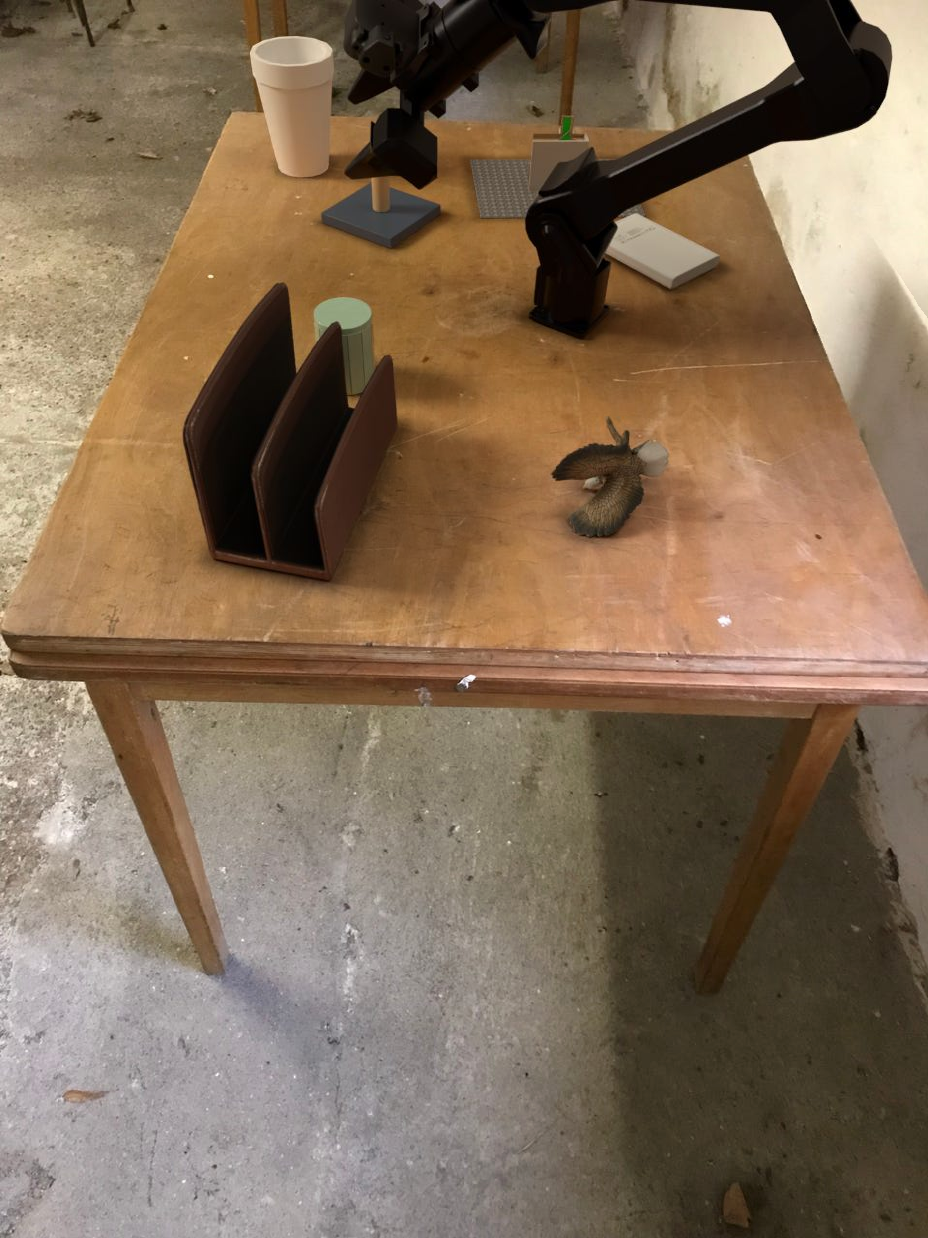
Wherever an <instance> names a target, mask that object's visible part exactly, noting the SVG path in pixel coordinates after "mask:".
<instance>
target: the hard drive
mask: <svg viewBox="0 0 928 1238" xmlns="http://www.w3.org/2000/svg"><path fill="white" fill-rule="evenodd" d="M614 222H615V223H616V225H617V226H618V229H617V231H616V233H615V235H614V237H613V239H612V241H611V243H610V245H609V247H608V249H607V251H606V253H605V254H606V255H608V256H609V257H611V258H612V259H614V260H616V261H618V262H620V263H622V264H624V265H626V266H627V267H629V268H631V269H633V270H635V271H637V272H639V273H641V274H642V275H644V276H646V277H647V278H649V279H651V280H653V281H655V282H656V283H658V284H659V285H662V286H664V287H665V288H667V289H669V290H675V289H677V288H679V287H681V286H683V285H685V284H687V283H689V282H691V281H693V280H695V279H696V278H698V277H700V276H702V275H704V274H706V273H708V272H711V271H712V270H714V269H716V268H717V267H718V265H719V262H720V260H721V259H720V258H721V255H720V254H718V253H717V252H714V251H712V250H710V249H708V248H706V247H704V246H702V245H700V244H698V243H697V242H694V241H692V240H691V239H689V238H686V237H685V236H683V235H681V234H679V233H677V232H675V231H672V230H670V229H668V228H666V227H665V226H662V225H661V224H659V223H657V222H655V221H653V220H650V219H649V218H647V217H646V216H644V217H643V216H641V215H639V214H637V213H635V214H632V215H630V216H628V217H624V218H623V217H622V219H619V220H616V221H614Z"/></svg>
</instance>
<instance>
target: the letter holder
mask: <svg viewBox="0 0 928 1238" xmlns="http://www.w3.org/2000/svg"><path fill="white" fill-rule="evenodd" d="M289 293H290V292H289V287H288V286H287V284H286V283H285V282H284V281H283V282H282V281H281V282H276V283H275V284H274V285H273V286H272V287H271V288H270V289H269V290H268V292H266V293H265V295H263V297H261V299H260V300H259V302H258V303H257V304H255V306H254V308H253V309H252V310H251V311H250V313H249V314H248V316H247V317H246V318H245V319H244V320H243V322H242V324H241V325H240V326H239V328H238V329H237V331H236V332H235V334H234V335H233V337H232V338H231V339H230V341H229V343H228V345H227V346H226V347H225V349H224V351H223V353H222V354H221V355H220V357H219V358H218V360H217V362H216V364H215V365H214V367H213V369H212V370H211V372H210V374H209V375H208V377H207V378H206V380H205V382H204V383H203V385H202V387H201V389H200V391H199V393H198V394H197V396H196V398H195V400H194V402H193V404H192V405H191V408H190V409H189V411H188V413H187V414H186V417H185V420H184V422H183V426H182V427H183V428H182V443H183V448H184V452H185V458H186V461H187V466H188V471H189V475H190V479H191V483H192V487H193V491H194V495H195V499H196V502H197V507H198V511H199V515H200V520H201V524H202V527H203V531H204V534H205V539H206V542H207V548H208V549H207V550H208V553H209V555H210V557H211V558H212V559H213V560H214V561H223V562H229V563H235V564H240V565H245V566H249V567H256V568H261V569H267V570H272V571H275V572H276V571H277V572H281V573H288V574H293V575H298V576H304V577H308V578H313V579H319V580H322V581H331V579H332V578H333V575H334V572H335V571H336V568H337V567H338V563H339V561H340V559H341V557H342V554H343V553H344V550H345V547H346V545H347V543H348V541H349V538H350V536H351V534H352V531H353V529H354V526H355V525H356V522H357V521H358V517H359V515H360V513H361V512H362V511H361V510H362V508H363V506H364V504H365V501H366V500H367V497H368V495H369V492H370V491H371V488H372V486H373V483H374V482H375V481H374V480H375V479H376V476H377V473H378V471H379V469H380V468H381V464H382V462H383V460H384V458H385V455H386V453H387V451H388V448H389V445H390V443H391V441H392V438H393V436H394V434H395V431H396V429H397V428H398V426H399V425H398V420H399V419H398V409H397V394H396V383H395V367H394V360H393V357H392V355H390V354H384V355H383V357H382V358H381V360H380V361H379V363H378V364H377V366H376V369H375V371H374V372H373V374H372V376H371V378H370V379H369V382H368V383H367V385H366V387H365V388H364V390H363V392H362V393H360V397H358V400H357V402H356V404H355V406H354V407H351V406H349V399H348V395H347V390H346V378H345V366H344V354H343V343H342V328H341V325H340V323H339V322H338V321H336V322H334V323H332V324H331V325H330V326H329V327H328V328H327V329H326V331H325V332H324V333H323V335H322V336H321V337H320V339H319V340H318V341H317V342H316V341H315V344H314V346H313V347H311V350H310V352H309V353H308V355H307V356H306V358H305V360H304V361H303V363H302V364H301V365H300V367H299V369H298V370H297V365H296V353H295V342H294V333H293V331H294V330H293V322H292V311H291V310H292V309H291V301H290V294H289Z"/></svg>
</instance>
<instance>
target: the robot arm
mask: <svg viewBox="0 0 928 1238" xmlns="http://www.w3.org/2000/svg"><path fill="white" fill-rule="evenodd" d="M617 1H618V2H619V0H449V1H448V2H447V3H445V5H444V6H442V7H441V6H440V5H438V4H437V2H436V1H431V3H429V2H426V3H425V4H423V3H422V2H421V0H351V3H350V4H349V7H348V10H347V13H346V15H345V17H344V21H343V25H344V34H343V35H344V37H343V44H342V45H343V50H344V52H345V53H346V55H347V56H348V57H349V58H350V59H353V60H355V61H358V65H359V67H360V68H361V69H360V71H359V73H358V75H357V77H356V78H355V80H354V82H353V84H352V86H351V88H350V89H349V92H348V93H347V98H346V99H347V101H349V102H350V103H351V104H352V105H354V106H356V105H359V104H362V103H364V102H368V101H369V100H371V99H373V98H375V97H377V96H379V95H381V94H383V93H385V92H387V91H389V90H391V89H393V88H395V89H398V90H399V107H387V108H386V109H385V110H383V111H382V112H381V113H380V114H379V115H378V117H377V119H376V121H375V122H374V121H373V120H370V126H369V127H370V130H369V142H368V143H367V144H366V145H365V146H364V147H363V148H362V149H361V150H360V152H358V153H357V155H355V157H354V158H353V159H352V160H351V161H350V162H349V163H348V164H347V166H346V167H345V169H344V171H343V174H344V176H346V177H347V178H348V179H349V180H351V181H352V180H353V181H355V180H365V179H366V180H367V179H371V178H376V177H388V176H389V177H399V178H400V177H401V178H402V179H403V180H404V181H406V182H407V183H409V184H410V185H411V186H413V187H414V188H416V190H418V191H420V190H423V189H425V188H426V187H428V186H429V185H431V184H432V183H433V182H434V181H435V180H437V179H438V156H439V155H438V153H439V152H438V149H439V148H438V143H439V142H438V140H439V139H438V136H436V135H435V133H433V132H432V131H430V130H429V129H428V128H427V127H425V120H426V119H425V113H427V112H429V113H430V114H432V115H433V116H434V117H435V118H437V119H438V120H439V119H441V117H443V116H444V115H445V114H447V99H449V98H450V97H451V96H452V95H454V94H455V93H456V92H457V91H459V90H460V89H461V88H463V87H464V88H465V89H466V90H467V91H468V92H469V93H473V92H474V91H475V90H476V89H478V88H479V86H480V72H482V71H483V70H484V69H485V68H487V67H488V66H489V65H490V64H491V63H493V62H494V61H495V60H496V59H498V57H500V56H501V55H502V54H503V53H505V52H506V51H507V50H508V49H510V48H511V47H512V46H513V45H514V44H516V42H519V44H520V45H521V47H522V49H523V51H524V52H525V55H527V57H528V58H529V59H530V60H535V59H536V58H537V57H538V56H539V55H540V53H542V51H543V50H544V49H545V48H546V47H547V45H548V37H549V36H548V35H549V25H550V24H551V21H552V16H551V15H550V14H549V13H558V12H567V11H576V10H583V9H586V8H590V7H594V6H598V5H602V4H606V3H611V2H617ZM635 1H636V2H647V3H649V2H650V3H658V4H659V3H661V4H671V5H682V6H683V5H684V6H693V7H694V6H695V7H705V8H716V9H728V10H740V11H752V12H764V13H769V14H770V15H771V16H772V18H773V20H774V21H775V23H776V25H777V26H778V28H779V30H780V32H781V35H782V37H783V39H784V42H785V43H786V46H787V48H788V50H789V53H790V54H791V55H790V56H791V57H792V59H793V62H792V63H790V65H788V66H787V67H786V68H785V69H784V70H783V71H782V72H780V73H779V74H778V75H777V76H776V77H774V78H773V79H772V80H771V81H770V82H768V83H767V84H766V85H765V86H762V87H760V88H759V89H757V90H754V91H753V92H750V93H748V94H747V95H744V96H742V97H740V98H738V99H736V100H734V101H732V102H730V103H728V104H726V105H724V106H721V108H718V109H715V110H714V111H712V112H711V113H708V114H705V115H704V116H702V117H700V118H697V119H695V120H694V121H692V122H689V123H687V124H686V125H684V126H682V127H679V128H677V129H675V130H674V131H672V132H670V133H667V134H666V135H665V134H664V135H663V136H661V137H659V138H657V139H656V140H653V141H651V142H649V143H648V144H645V145H643V146H641V147H639V148H636V149H635V150H633V151H631V152H629V153H628V154H625V155H622V156H621V157H619V158H614V159H615V160H603V161H597V159H598V158H597V154H596V151H595V148H594V146H590V147H589V149H587V150H586V151H584V152H583V153H582V154H581V155H579V156H578V157H576V158H575V159H573V160H570V161H567V162H558V163H557V165H556V166H555V168H554V169H553V171H552V172H551V174H550V175H549V177H548V178H547V180H546V181H545V183H544V184H543V186H542V187H541V189H540V190H539V192H538V195H537V197H536V199H535V200H534V202H533V203H532V205H531V206H530V208H529V209H528V211H527V214H526V217H524V229H525V232H526V235H527V238H528V241H530V243H531V244H532V246H533V247H534V248H535V250H536V254H537V258H538V261H539V266H537V267H536V270H535V280H534V281H535V282H534V291H533V305H534V306H535V307H533V308H532V309H531V310H530V311H529V312H528V319H529V320H531V321H534V322H536V323H539V324H542V325H544V326H547V327H550V328H552V329H554V330H557V331H559V332H562V333H565V334H567V335H571V336H573V337H576V338H579V339H582V338H585V337H586V336H587V335H588V333H590V332H591V331H592V330H593V329H594V328H595V327H596V326H597V325H598V324H599V323H600V322H601V321H602V320H603V319H604V318H605V317H606V316H607V315H608V314H609V313H610V311H611V306H609V305H608V304H606V297H607V291H608V285H609V280H610V279H609V278H610V274H611V267H612V261H610V260H608V259H606V258H605V254H606V251H607V249H608V247H609V245H610V243H611V241H612V239H613V237H614V235H615V233H616V231H617V229H618V226H617V225H616V223H615V222H616V221H615V220H616V219H617V218H619V217H618V216H619V215H620V214H622V213H623V212H624V211H626V210H628V209H630V208H632V207H634V206H637V205H639V204H641V205H642V204H643V203H645V202H648V201H649V200H652V199H654V198H656V197H659V196H661V195H663V194H665V193H668V192H670V191H672V190H674V189H676V188H679V187H681V186H683V185H685V184H687V183H690V182H692V181H694V180H697V179H698V178H701V177H703V176H705V175H707V174H710V173H712V172H714V171H716V170H718V169H721V168H723V167H725V166H727V165H730V164H732V163H734V162H736V161H739V160H740V159H743V158H745V157H747V156H749V155H751V154H754V153H756V152H758V151H761V150H763V149H765V148H767V147H769V146H771V145H775V144H778V143H787V142H806V141H815V140H819V139H823V138H826V137H830V136H835V135H838V134H841V133H845V132H849V131H853V130H855V129H858V128H860V127H862V126H863V125H865V124H866V123H868V122H869V121H871V120H872V119H873V118H874V117H875V116H876V115H877V114H878V112H879V110H880V109H881V106H882V105H883V103H884V101H885V99H886V97H887V93H888V89H889V83H890V77H891V71H892V70H891V69H892V64H893V63H892V62H893V49H892V48H893V47H892V43H891V41H890V39H889V37H888V35H887V33H885V32H884V31H883V30H882V29H881V28H880V27H879V26H877V25H874V24H872V23H870V22H869V23H868V22H866V21H865V20H863V19H862V17H861V16H860V13H859V12H858V10H857V9H856V6H855V5H854V3H853V2H852V0H635Z"/></svg>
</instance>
